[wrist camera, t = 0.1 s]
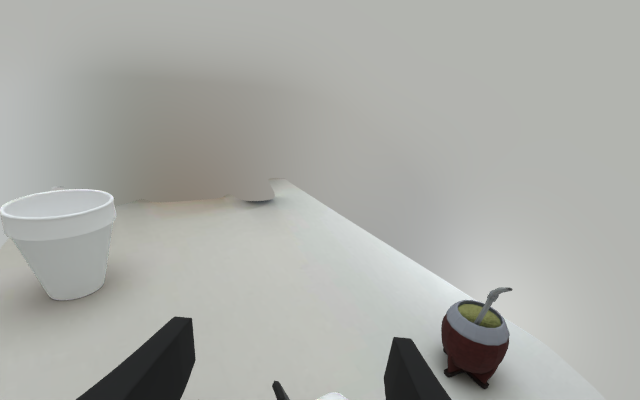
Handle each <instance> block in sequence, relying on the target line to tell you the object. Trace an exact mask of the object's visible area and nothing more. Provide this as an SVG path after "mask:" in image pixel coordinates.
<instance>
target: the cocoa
mask: <svg viewBox="0 0 640 400" xmlns="http://www.w3.org/2000/svg"><path fill="white" fill-rule="evenodd" d="M272 387H273V390H274V392H275V395H276V398H277V400H290V399H289V398H288V396H287V394H286V393H285V391H284V389H283V388H282V386H281V384H280V383H279V382H278V381H274V383H273V385H272ZM316 400H348V399H347V398H345V397H344V396H342V395H341V394H340V393H337V392H330V393H328V394H326V395H324V396H322V397H321V398H318V399H316Z"/></svg>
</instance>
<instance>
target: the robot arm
mask: <svg viewBox="0 0 640 400" xmlns="http://www.w3.org/2000/svg"><path fill="white" fill-rule="evenodd" d="M194 363H195V349H194V337H193V326H192V318H184V317H174V318H172V319H171V320H170V321H169V322H168V323H167V324H165V325H164V326H163V327H162V328H161V329H160V330H159V331H158V332H157V333H156V334H154V335H153V336H152V337H151V338H150V339H149V340H148V341H147V342H145V343H144V344H143V345H142V346H141V347H140V348H139V349H138V350H136V351H135V352H134V353H133V354H132V355H131V356H129V357H128V358H127V359H126V360H125V361H124V362H122V363H121V364H120V365H119V366H118V367H116V368H115V369H114V370H113V371H112V372H110V373H109V374H108V375H107V376H105V377H104V378H103V379H102V380H100V381H99V382H98V383H97V384H95V385H94V386H93V387H92V388H90V389H89V390H88V391H87V392H85V393H84V394H83V395H81V396H80V397H79V398H77V399H76V400H180V399H181V397H182V394H183V392H184V390H185V387H186V385H187V382H188V380H189V377H190V374H191V371H192V368H193V366H194ZM384 384H385V395H386V400H451V398H450V397H449V396H448V394H447V393H446V391H445V390H444V388H443V387H442V386H441V384H440V383H439V381H438V380H437V378H436V377H435V375H434V374H433V372H432V371H431V369H430V368H429V366H428V364H427V363H426V361H425V360H424V358H423V357H422V355H421V353H420V352H419V350H418V349H417V347H416V345H415V344H414V342H413V341H412V340H411V339H409V338H398V337H394V338H393V342H392V346H391V350H390V354H389V359H388V363H387V367H386V371H385V375H384Z"/></svg>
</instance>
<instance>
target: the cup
mask: <svg viewBox="0 0 640 400" xmlns="http://www.w3.org/2000/svg"><path fill="white" fill-rule="evenodd" d="M113 200H114V198H113V196H112V195H111V194H109V193H107V192H104V191H99V190H90V189H71V190H58V191H49V192H43V193H37V194H33V195H28V196H24V197H21V198H17V199H15V200H12V201H10V202H7V203H6V204H4V205H3V206H1V207H0V214H1V217H2V225H3V230H4V233H5V235H6V236H7V237H10V238H12V240H13V242H14V243H15V245H16V246H17V248H18V249H19V251H20V252H21V254H22V255H23V257H24V259H25V260H26V262H27V263H28V265H29V266H30V268H31V269H32V271H33V272H34V274H35V275H36V277H37V279H38V280H39V282H40V283H41V285H42V286H43V288H44V289H45V291H46V292H47V294H48V296H49V297H50V298H52V299H54V300H72V299H77V298H81V297H84V296H87V295H89V294H91V293H93V292H95V291H97V290H98V289H99V288H101V287H102V285H103V284H104V281H105V275H106V268H107V261H108V254H109V247H110V240H111V234H112V227H113V221H114V220H115V219H116V216H117V215H116V211H115V206H114V202H113Z"/></svg>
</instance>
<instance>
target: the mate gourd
mask: <svg viewBox="0 0 640 400" xmlns="http://www.w3.org/2000/svg"><path fill="white" fill-rule="evenodd" d="M507 291H512V288H497V289H495V290H493V291H491V292H490V293H489V295H488V297H487V298H488V299H487V301H486V303H485V304H483V303H481V302H477V301H473V300H463V301H460V302H457V303H455V304H454V305H452V306H451V307H450V308H449V310H448V311H447V313H446V315H445V316H444V318H443V321H442V343H443V347H444V348H443V351H444V352H445V353H446V354H447V355H448V368H447V369H445V370H444V374H445V375H446V376H447V377H452V376H454V375H457V374H459V373H462V372H466V373H467V374H468V375H469V376H470V377H471V378H472V379H473V380H474V381H475V382H476V383H477V384H478V385H480V386H481V387H482V388H483V389H486V388H488V386H489V384H488V383H487V381H488V379H489V378H490V377H491V376H492V375H493V374H494V373H495V371H496V369H497V367H498V365H499V364H500V363H501V361H502V360H503V358H504V356H505V354H506V351H507V349H508V345H509V331H508V328H507V325H506V322H505V320H504V318H503V317H502V316H501V315H500V314H499V313H498V312H497V311H496V310H495V309H493V308H491V307H490V306H491V305H492V303H493V302H495V301H496V299H497V298H498V296H499V294H500V293H503V292H507Z"/></svg>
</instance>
